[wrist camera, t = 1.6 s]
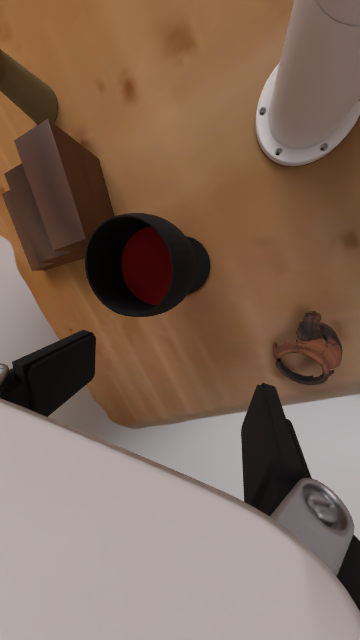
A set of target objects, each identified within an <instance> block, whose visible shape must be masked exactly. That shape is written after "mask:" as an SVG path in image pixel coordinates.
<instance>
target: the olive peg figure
mask: <svg viewBox="0 0 360 640" xmlns="http://www.w3.org/2000/svg"><path fill="white" fill-rule="evenodd" d="M0 91H1V92H2V93H4V94H5V95H6V96H7V97H8V98H9V99H10V100H11V101H12V102H14V103H15V104H16V105H17V106H18V107H19V108H20V109H21V110H22V111H23V112H25V113H26V114H27V115H28V116H29V117H30V118H31V119H32V120H33V121H35V122H36V123H37V124H38V125H39V124H40V123H42V122H43V121H45V120H47V119H49V120H50V121H51V122H53V123H54V121H55V119H56V117H57V111H58V105H57V99H56V96H55V94H54V92H53V90H52V89H51V88H50V87H49V86H48V85H47V84H45V83H44V82H43V81H41V80H40V79H39V78H37V77H36V76H35V75H33V74H32V73H31V72H30V71H28V70H27V69H26V68H24V67H23V66H22V65H20V64H19V63H18V62H16V61H15V60H14V59H12V58H11V57H10V56H9V55H7V54H6V53H5V52H3V51H2V50H1V49H0Z"/></svg>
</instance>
